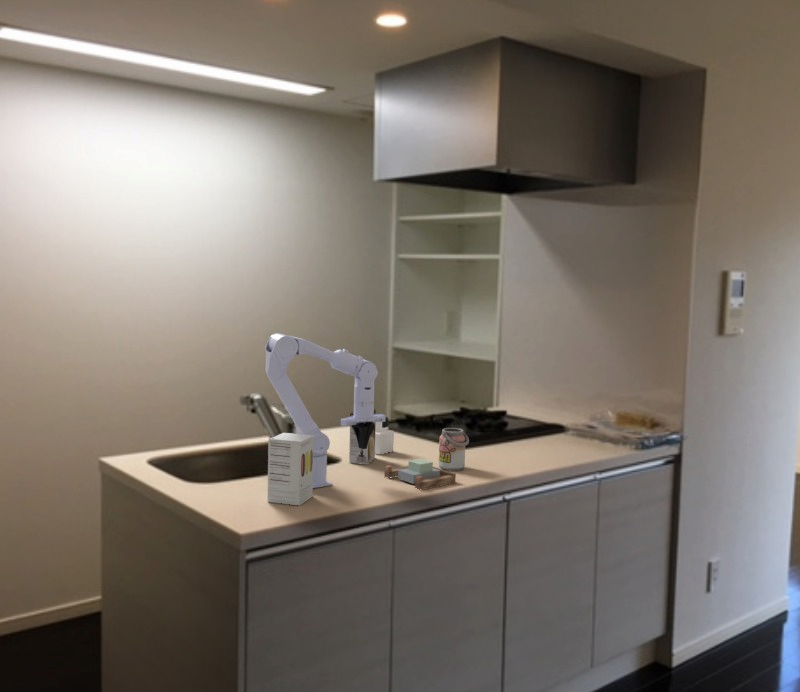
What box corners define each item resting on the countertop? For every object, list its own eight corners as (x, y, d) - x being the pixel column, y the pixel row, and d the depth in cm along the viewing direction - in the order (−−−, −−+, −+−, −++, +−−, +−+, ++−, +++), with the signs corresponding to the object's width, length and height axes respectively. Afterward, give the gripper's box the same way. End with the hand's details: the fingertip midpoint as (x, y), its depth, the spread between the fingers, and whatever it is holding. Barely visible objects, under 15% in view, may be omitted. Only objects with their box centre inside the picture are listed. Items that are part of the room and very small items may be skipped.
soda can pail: (472, 469, 248) (474, 431, 246) (453, 473, 242) (455, 434, 241) (451, 463, 254) (453, 426, 253) (432, 467, 249) (433, 429, 248)
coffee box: (356, 456, 260) (357, 407, 258) (375, 458, 259) (376, 409, 257) (348, 463, 251) (349, 412, 249) (368, 464, 250) (369, 414, 248)
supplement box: (299, 506, 205) (300, 441, 203) (266, 502, 207) (267, 438, 205) (313, 496, 214) (314, 434, 212) (281, 492, 216) (282, 431, 215)
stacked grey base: (413, 485, 227) (413, 466, 227) (397, 480, 233) (398, 461, 232) (439, 480, 234) (440, 462, 233) (424, 475, 239) (424, 457, 238)
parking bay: (419, 490, 223) (420, 477, 222) (384, 477, 235) (384, 465, 235) (456, 482, 232) (456, 470, 231) (420, 470, 244) (421, 459, 244)
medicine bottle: (377, 448, 273) (378, 413, 271) (393, 451, 268) (394, 416, 267) (363, 451, 267) (364, 416, 266) (379, 455, 263) (380, 419, 261)
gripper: (351, 406, 221) (350, 454, 223) (392, 401, 230) (391, 448, 232) (336, 402, 227) (335, 449, 228) (377, 398, 236) (376, 443, 237)
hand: (362, 448), depth 230 cm, fingers closed
